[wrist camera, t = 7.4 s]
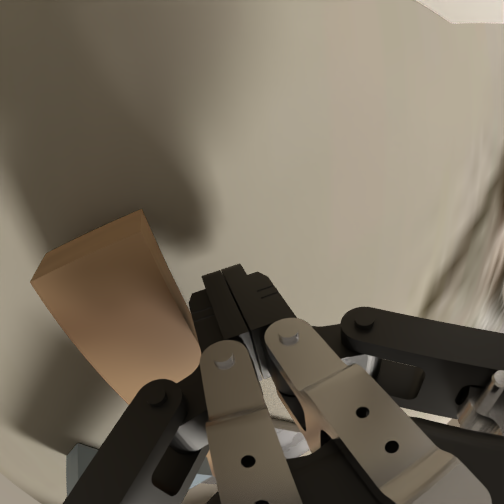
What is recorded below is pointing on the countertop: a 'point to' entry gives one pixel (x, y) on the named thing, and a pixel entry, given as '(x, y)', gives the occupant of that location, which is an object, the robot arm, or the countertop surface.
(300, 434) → the pivot base
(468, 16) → the medicine bottle
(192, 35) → the countertop surface
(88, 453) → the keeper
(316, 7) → the countertop surface
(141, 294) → the link
